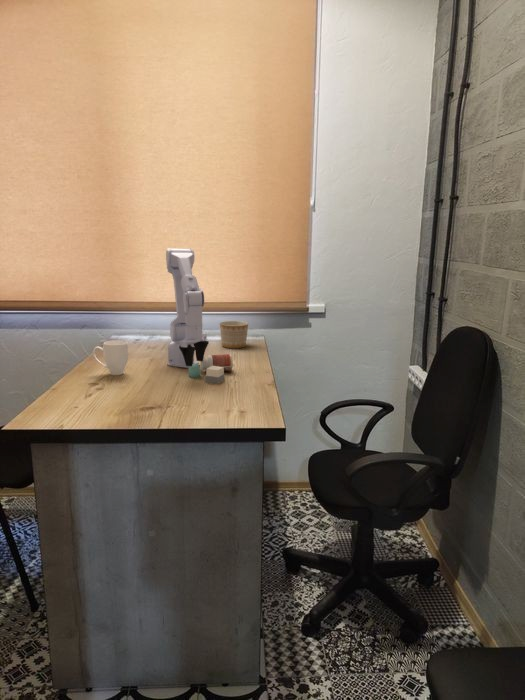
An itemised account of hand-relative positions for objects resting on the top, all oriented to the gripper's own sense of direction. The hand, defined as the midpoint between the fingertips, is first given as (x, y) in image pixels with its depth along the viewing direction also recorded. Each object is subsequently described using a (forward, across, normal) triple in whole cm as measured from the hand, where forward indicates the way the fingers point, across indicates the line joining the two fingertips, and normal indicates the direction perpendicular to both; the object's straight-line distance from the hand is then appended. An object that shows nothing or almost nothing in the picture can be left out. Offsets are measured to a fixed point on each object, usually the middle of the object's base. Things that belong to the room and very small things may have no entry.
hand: (194, 363), depth 177 cm
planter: (+5, +50, +8) cm, 51 cm away
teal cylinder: (+5, 0, 0) cm, 5 cm away
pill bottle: (+2, +13, -8) cm, 15 cm away
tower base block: (+5, -2, -9) cm, 10 cm away
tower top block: (+3, -2, -9) cm, 10 cm away
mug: (+5, -10, +28) cm, 30 cm away
